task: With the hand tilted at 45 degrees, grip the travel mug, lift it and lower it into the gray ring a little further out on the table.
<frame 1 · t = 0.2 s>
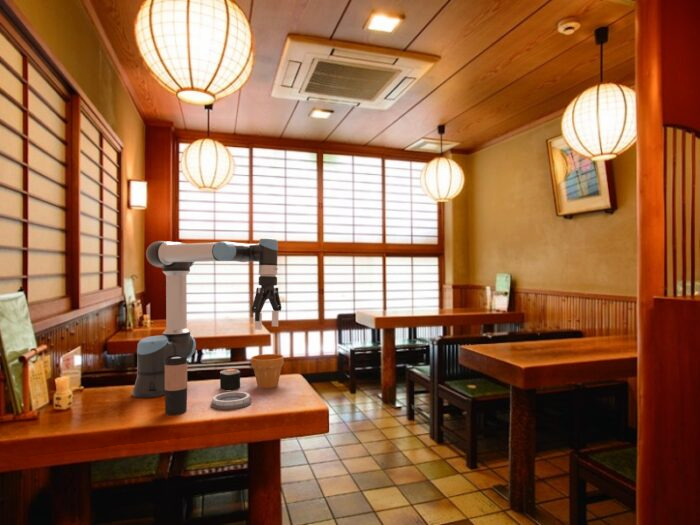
hand: (266, 327, 176), 28 cm above the table, tool pointing down, fingers open, 13 cm apart
gray ring: (231, 403, 165), on the table
sushi: (230, 388, 188), on the table
travel mug: (176, 412, 156), on the table
flower pot: (267, 386, 191), on the table
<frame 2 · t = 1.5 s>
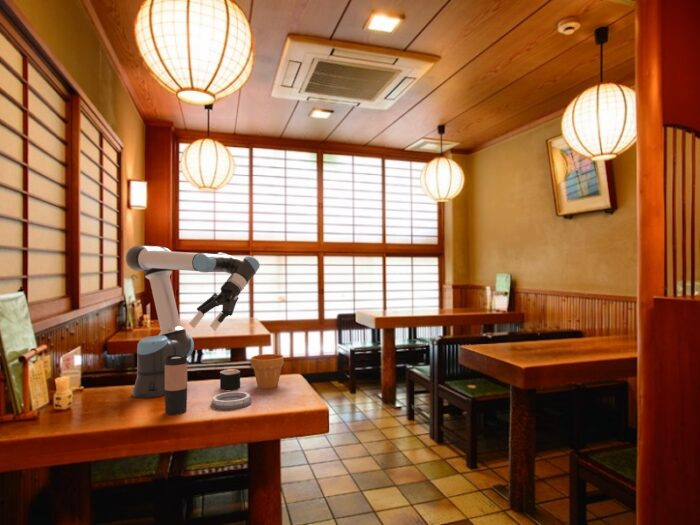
hand: (201, 327, 165), 30 cm above the table, tool tilted 45°, fingers open, 13 cm apart
nothing on the table moved.
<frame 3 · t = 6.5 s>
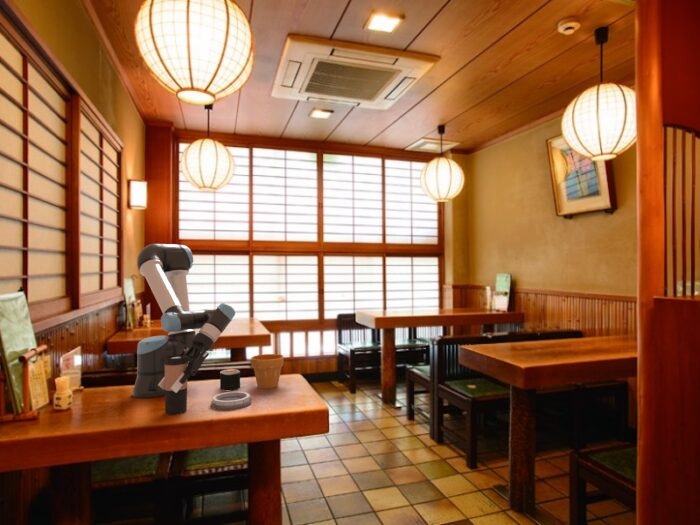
hand: (167, 388, 154), 9 cm above the table, tool tilted 45°, fingers closed on travel mug, 7 cm apart
travel mug: (176, 412, 156), on the table, touching gripper
everything else where it was.
when the fingers open (11 cm above the table, at t = 13.6 s): travel mug stays where it is, resting on gray ring.
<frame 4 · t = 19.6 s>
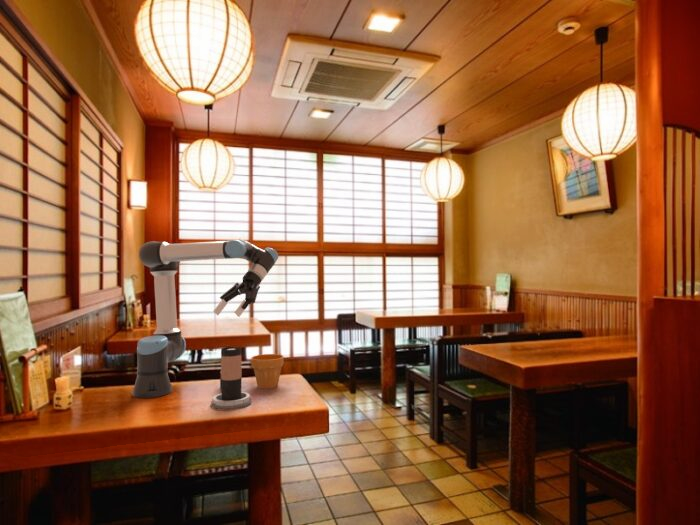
hand: (226, 313, 175), 34 cm above the table, tool tilted 45°, fingers open, 13 cm apart
travel mug: (231, 401, 165), point 1 cm above the table, touching gray ring
everything else where it was.
at the end: travel mug 0.0 cm off-centre on the gray ring, point 1.0 cm above the gray ring's base; travel mug tilted 0°; the gripper is holding nothing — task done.
